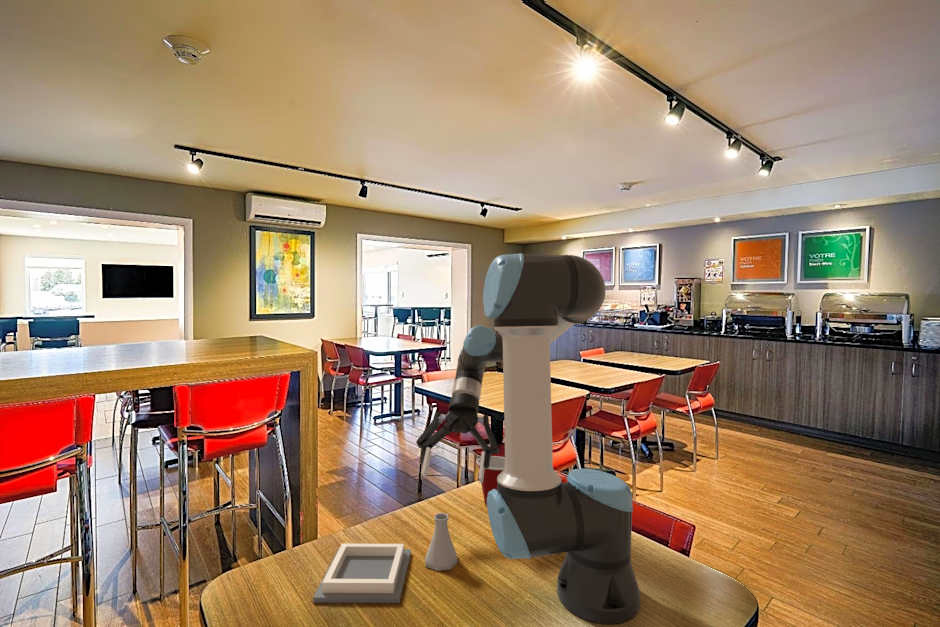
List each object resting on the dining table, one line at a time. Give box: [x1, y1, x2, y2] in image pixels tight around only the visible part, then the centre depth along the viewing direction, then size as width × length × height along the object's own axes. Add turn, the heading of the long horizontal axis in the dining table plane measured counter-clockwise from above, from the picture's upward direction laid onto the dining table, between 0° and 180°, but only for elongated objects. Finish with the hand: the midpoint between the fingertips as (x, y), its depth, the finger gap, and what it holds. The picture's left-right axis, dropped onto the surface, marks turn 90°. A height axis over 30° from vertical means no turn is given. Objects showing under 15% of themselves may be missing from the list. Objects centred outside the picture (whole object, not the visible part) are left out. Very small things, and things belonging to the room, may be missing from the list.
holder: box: [312, 542, 412, 604], centre depth 95 cm, size 16×16×3 cm
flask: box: [424, 512, 459, 571], centre depth 100 cm, size 7×7×10 cm
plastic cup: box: [476, 455, 505, 506], centre depth 126 cm, size 11×11×12 cm
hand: (451, 478), depth 109 cm, fingers open, 13 cm apart
